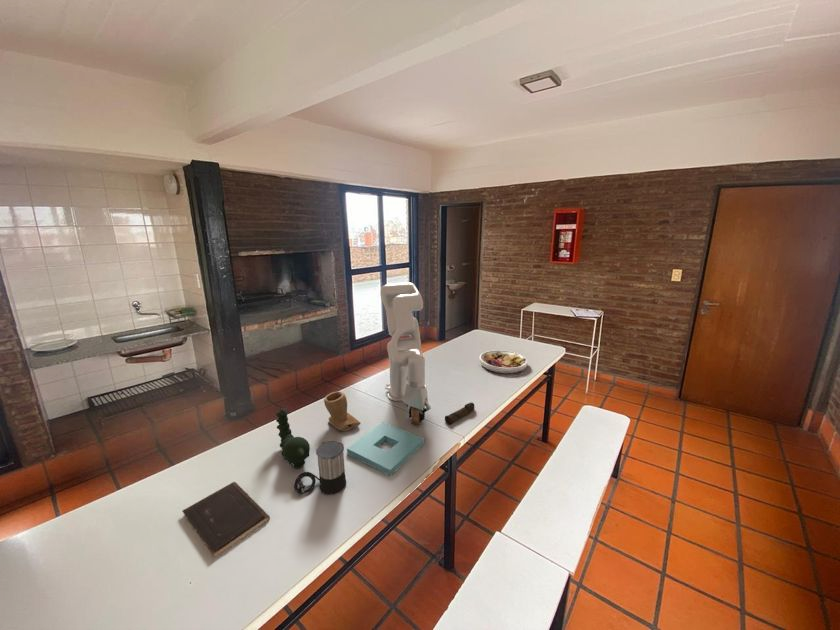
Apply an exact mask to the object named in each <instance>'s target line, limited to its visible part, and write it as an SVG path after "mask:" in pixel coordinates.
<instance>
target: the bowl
mask: <svg viewBox="0 0 840 630" xmlns="http://www.w3.org/2000/svg"><path fill="white" fill-rule="evenodd" d="M479 362H480V364H481V366H482V367H484V368H485V369H486V370H489V371H490V372H495V373H498V374H516V373H520V372H522V371H523V370H525V369H526V368H527V365H528V358H526V356H525V355H522V354H520V353H518V352H514V351H509V350H502V349H501V350H500V349H498V350H494V349H493V350H487V351H485V352H482V353H481V354H480V355H479Z"/></svg>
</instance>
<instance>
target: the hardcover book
mask: <svg viewBox="0 0 840 630" xmlns="http://www.w3.org/2000/svg"><path fill="white" fill-rule="evenodd" d="M181 512H182V513H183V514H184V516H185V517H186V519H187V520H188V521H189V523H190V525H191V526H192V527H193V529H194V531H196V533H197V534H198V535H199V538H201V540H202V541H203V543H204V544H205V546H206V547H207V548H208V550H209V551H210V553H211V554H212V556H213V557H214V558H216V557H218V555H220V554H221V553H223V552H225V551H226V550H227V549H229V548H230V547H231V546H233V545H234V544H235V543H238V542H239V541H240V540H242V539H243V538H244V537H246V536H247V535H249V534H250V533H251V532H253V531H254V530H256V529H258V528H259V527H260V526H261V525H263V524H264V523H266V522H267V521H268V520H269V521H270V519H271V518H270V515H269V514H268V513H267V512H266V511H265V510H264V509H263V508H262V507H261V506H260V505H259V504H258V503H257V502H256V501H255V500H254V499H253V498H252V497H251V496H250V495H249V494H248V493H247V492H246V491H245V490H244V489H243V488H242V487H241V486H240V485H239V484H238V483H237V482H236V481H232V482H231V483H229V484H227V485H226V486H224V487H222V488H220V489H219V490H216V491H215V492H213V493H211V494H209V495H208V496H206V497H205V498H204V497H203V498H202V499H201V500H199V501H197V502H195V503H194V504H192V505H190V506H188V507H186V508H185V509H182V511H181Z"/></svg>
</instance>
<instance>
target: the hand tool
mask: <svg viewBox="0 0 840 630" xmlns="http://www.w3.org/2000/svg"><path fill="white" fill-rule="evenodd" d="M474 410H475V403H474V402H468V403H466V404H464V406H463V407H461V408H459V409H458V410H456V411H454V412H452V413H450V414H448V415H445V416H444V422H445V423H446V424H447V425H451V424H453V423H454V422H455V421H457V420H459V419H461V418H462V417H464V416H466V415H470V414H472V413H473V411H474Z"/></svg>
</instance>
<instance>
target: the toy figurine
mask: <svg viewBox="0 0 840 630" xmlns="http://www.w3.org/2000/svg"><path fill="white" fill-rule="evenodd" d="M275 415H276V416H277V418H276V420H275V421H276V423H278V425H277V426H276V429H277V430H279V432H278V434H277V435H278V437H280V443H279V447H280V448H281V450H282V451H281V455H282V456H283V459H284V461H286V462H288V464H289V465H292V466H293V468H295V469H300V468H303V466H305V463H306V459H307V458H309V457H310V451H311V446H310V443H309V441H308V440H307V439H306V438H304V437H301V436H295V437H294V435H293V434H292V430H291V428H290V427H291V426H290V425H291V424H290V423H289V422H288V421H289V418H288V411H287V408H280V409H279V410H278V412H276V413H275Z"/></svg>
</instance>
